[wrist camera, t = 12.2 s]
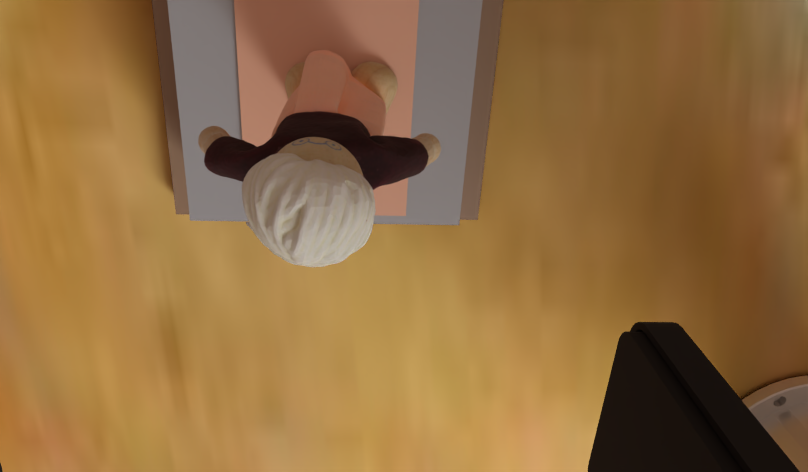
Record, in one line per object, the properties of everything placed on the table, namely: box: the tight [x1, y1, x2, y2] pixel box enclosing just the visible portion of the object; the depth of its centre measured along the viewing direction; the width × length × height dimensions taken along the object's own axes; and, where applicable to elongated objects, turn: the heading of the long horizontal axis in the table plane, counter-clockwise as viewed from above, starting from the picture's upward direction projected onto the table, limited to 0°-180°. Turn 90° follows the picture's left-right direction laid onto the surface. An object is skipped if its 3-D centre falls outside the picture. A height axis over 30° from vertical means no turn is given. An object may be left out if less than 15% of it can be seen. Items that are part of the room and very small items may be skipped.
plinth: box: [152, 0, 503, 225], centre depth 28 cm, size 16×16×7 cm
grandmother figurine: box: [198, 50, 441, 267], centre depth 20 cm, size 8×4×13 cm, turn 98°
